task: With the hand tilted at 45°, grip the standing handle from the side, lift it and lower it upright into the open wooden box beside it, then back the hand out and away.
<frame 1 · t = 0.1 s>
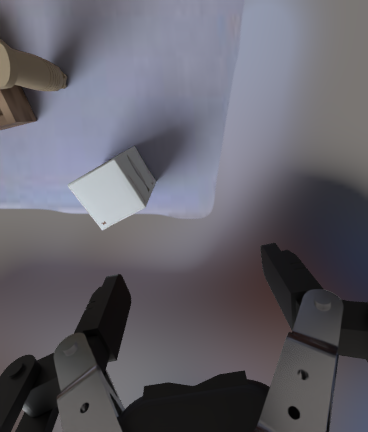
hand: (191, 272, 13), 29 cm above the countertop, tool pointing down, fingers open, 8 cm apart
supplement box: (129, 173, 40), on the countertop
handle: (58, 79, 34), on the countertop
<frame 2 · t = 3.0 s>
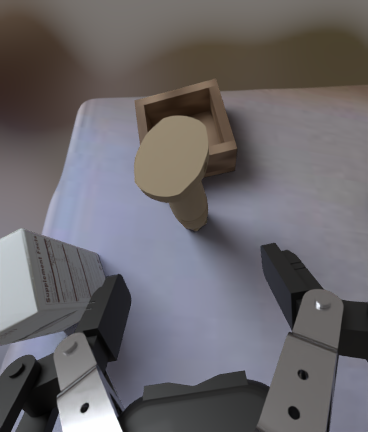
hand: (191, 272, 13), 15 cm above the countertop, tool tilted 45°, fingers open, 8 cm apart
supplement box: (82, 290, 29), on the countertop
handle: (195, 220, 30), on the countertop
open wooden box: (187, 146, 33), on the countertop
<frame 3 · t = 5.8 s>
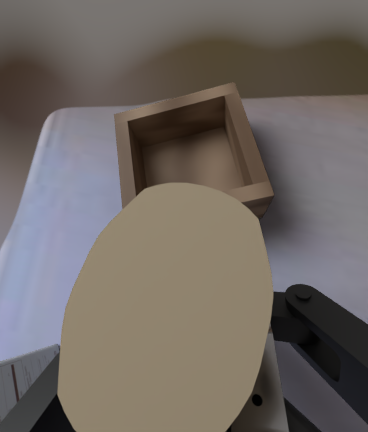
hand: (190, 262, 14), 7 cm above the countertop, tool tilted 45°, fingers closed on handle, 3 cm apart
supplement box: (33, 405, 19), on the countertop
handle: (204, 295, 20), on the countertop, touching gripper
open wooden box: (191, 178, 23), on the countertop
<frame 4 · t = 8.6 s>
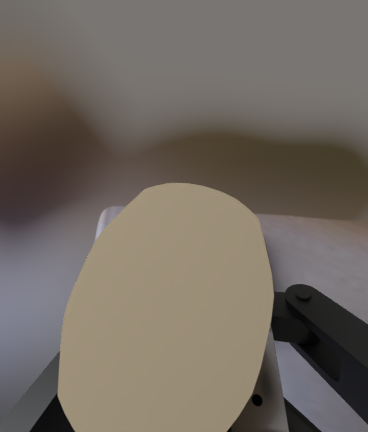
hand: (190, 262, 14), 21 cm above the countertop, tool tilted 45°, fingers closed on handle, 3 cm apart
handle: (204, 295, 20), point 14 cm above the countertop, touching gripper
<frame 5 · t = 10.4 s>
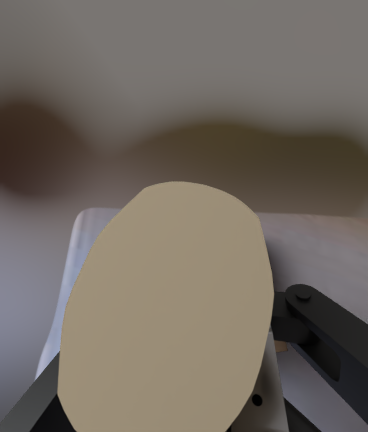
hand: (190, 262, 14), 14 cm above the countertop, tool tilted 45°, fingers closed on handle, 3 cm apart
handle: (204, 295, 20), point 7 cm above the countertop, touching gripper
when the fingers open (10 cm above the countertop, at t = 11.6 s): handle drops 2 cm, resting on open wooden box.
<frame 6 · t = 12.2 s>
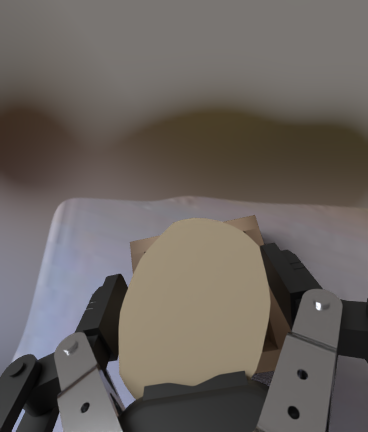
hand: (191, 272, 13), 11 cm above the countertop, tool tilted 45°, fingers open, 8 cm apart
handle: (211, 297, 22), point 1 cm above the countertop, touching open wooden box
open wooden box: (207, 295, 23), on the countertop
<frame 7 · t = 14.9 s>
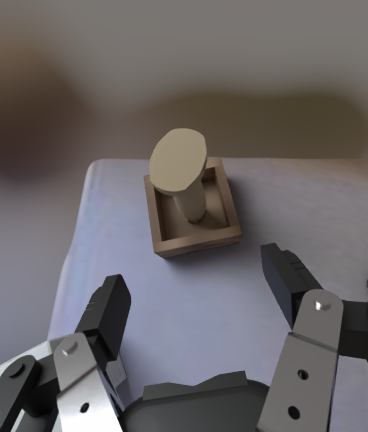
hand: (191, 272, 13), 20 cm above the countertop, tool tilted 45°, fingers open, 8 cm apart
supplement box: (96, 361, 31), on the countertop
handle: (195, 214, 34), point 1 cm above the countertop, touching open wooden box
open wooden box: (193, 214, 35), on the countertop
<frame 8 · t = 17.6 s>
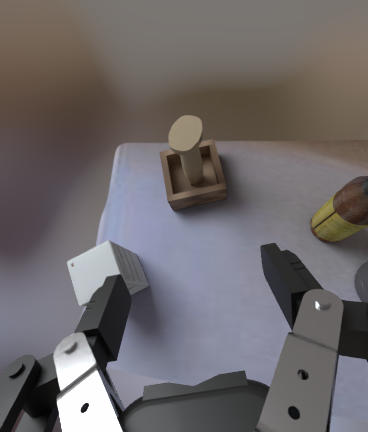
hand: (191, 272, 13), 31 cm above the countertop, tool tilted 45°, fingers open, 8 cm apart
supplement box: (127, 277, 45), on the countertop
sauce bottle: (325, 226, 42), on the countertop
handle: (195, 180, 48), point 1 cm above the countertop, touching open wooden box
open wooden box: (194, 180, 49), on the countertop
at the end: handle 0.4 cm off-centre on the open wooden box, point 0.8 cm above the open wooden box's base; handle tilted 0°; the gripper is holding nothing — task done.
